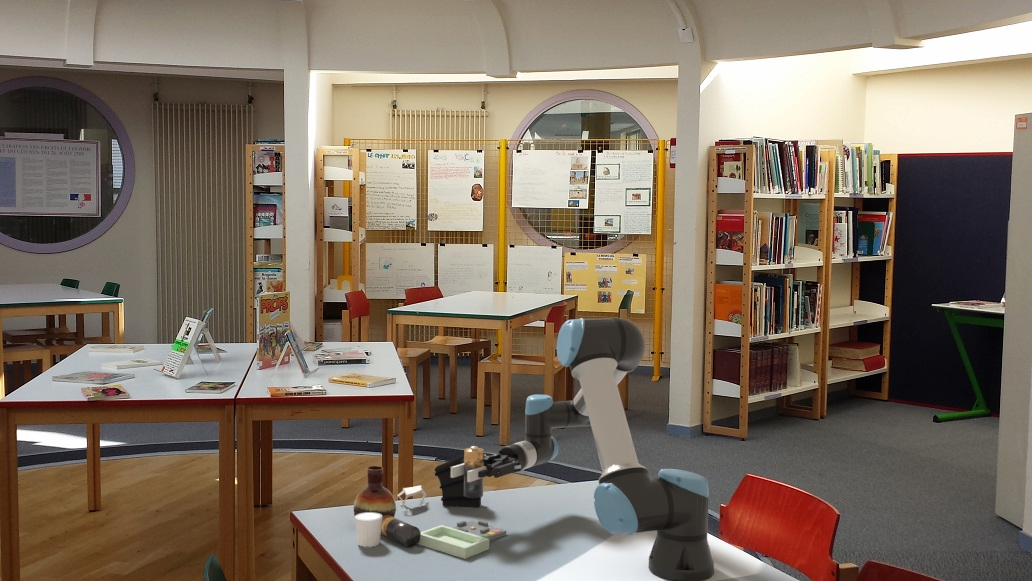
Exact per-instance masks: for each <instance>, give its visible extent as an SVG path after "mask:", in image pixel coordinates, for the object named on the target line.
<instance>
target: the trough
mask: <svg viewBox="0 0 1032 581" xmlns="http://www.w3.org/2000/svg"><path fill="white" fill-rule="evenodd" d="M420 533H421V535H420V540H419V542H418V543H417V544H416V545H419V544H420V546H422V545H423V546H424V547H426V548H428V549H429V548H430V549H433V550H435V551H439V552H442V553H444V554H448V555H451V556H455V557H457V558H461V559H464V560H466V559H468V558H470V557H474V556H476V555H478V554H481V553H482V552H486V551H487V550H490V541H489V539H488V538H485V537H481V536H478V535H475V534H471V533H468V532H464V531H461V530H457V529H454V528H453V527H450V526H446V525H443V524H441V525H438V526H435V527H432V528H430V529H426V530H423V531H420Z"/></svg>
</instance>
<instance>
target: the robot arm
mask: <svg viewBox="0 0 1032 581" xmlns="http://www.w3.org/2000/svg"><path fill="white" fill-rule="evenodd" d="M645 352H646V341H645V336H644V334H643V333H642V330H641V329H640V328H639V327H638V326H637V325H636V324H635V323H634V322H632V321H631V320H629V319H626V318H623V317H608V318H607V317H604V318H600V317H599V318H583V317H580V318H576V319H568V320H566V321H565V322H564V323H563V324H562V325H561V327H560V329H559V332H558V336H557V340H556V354H557V360H558V362H559V364H560V365H561V366H563V367H565V368H568V367H569V370H570V373H571V377H572V378H573V379H575V380H578V381H579V385H580V389H579V390H578V392H577V393H576V395H575V396H574V397H573V399H572V400H561V401H554V400H553V398H552V396H551V395H549V394H532V395H528V397H527V398H526V402H525V411H524V413H525V414H524V417H525V419H524V420H525V424H524V425H525V427H524V429H525V430H524V432H525V433H524V440H522V441H518V442H517V441H516V442H515V443H512V444H507V445H505V446H503V447H501V448H500V449H499V451H498V453H494V454H491V455H487V453H485V452H484V466H483V467H479V468H476V469H473V470H470V471H467V482H472V481H475V480H478V479H481V478H483V479H484V478H487V477H488V478H491V477H494V478H495V479H498V478H501V477H504V476H507V475H510V474H515V473H518V472H521V471H522V472H523V471H525V469H529V468H532V467H535V466H539V465H543V464H547V463H548V462H551V461H553V460H554V459H555V458H556V457H557V455H558V454H559V444H558V441H557V439H556V438H555V437H554V436H553V434H552V432H553V429H563V428H577V427H578V428H579V427H581V428H582V427H584V428H585V427H587V428H588V427H591V431H592V435H593V438H594V442H595V447H596V451H597V456H598V458H599V463H600V466H601V467H600V468H601V471H602V474H600V476H599V478H598V484H599V485H597V486H596V488H595V490H594V493H593V498H594V501H593V505H594V506H593V507H594V510H595V514H596V516H597V519H598V521H599V522H600V525H601V526H602V527H603V528H604V530H606V531H607V532H608V533H609V534H612V535H617V536H619V535H627V536H630V535H631V536H632V535H634V534H641V533H648V532H654V531H655V532H656V537H655V539H654V543H653V544H652V545H653V546H652V548H651V551H650V553H649V556H648V570H649V571H650V572H651V573H652V574H653V575H655V576H657V577H660V578H663V579H667V580H670V581H704V580H707V579H709V578H711V577H712V576H714V573H715V572H714V571H715V562H714V559H713V558H712V553H711V548H710V545H709V540H708V526H709V525H708V524H709V499H710V489H709V481H708V480H707V478H705V477H704V476H703V475H701V474H699V473H695V472H692V471H688V470H683V469H677V468H662V469H660V470H659V471H658V474H657V477H656V478H650V475H649V472H648V469H647V467H646V466H644V465H642V464H640V463H639V460H638V456H637V453H636V449H635V445H634V442H633V438H632V435H631V430H630V428H629V424H628V420H627V416H626V412H625V409H624V405H623V402H622V398H621V395H620V394H621V393H620V390H619V387H618V385H619V384H620V382H622V380H623V379H624V377H625V376H626V375H627V373H630V372H633V371H635V370H636V368H638V366H639V365H640V363H641V362H642V360H643V358H644V355H645ZM461 475H464V459H463V460H462V464H460V465H456V466H453V467H451V478H454V477H458V476H461Z"/></svg>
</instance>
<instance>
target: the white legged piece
mask: <svg viewBox="0 0 1032 581" xmlns="http://www.w3.org/2000/svg"><path fill="white" fill-rule="evenodd" d="M404 494H405V498H404V500H403V498H402V497H401V496H402V495H404ZM418 494H422V497H421V498H420V499H422V500H420V499H419V501H420V504H419V506H420V507H423V505H422V504H423V503H424V500H425V498H426V497H427V494H426V491H424V488H423V485H415V486H410V487H402V491H401V492H399V493H398V494H397V497H398V498H399V500H400V501H402V503H400V506H401V507H403V508H404V510H403V511H402V512H403V513H404V512H405V511H407V510H408V508H407V507H406V505H405V504H406V501H407V500H408V498H409V497H412V496H413V497H414V496H416V495H418Z"/></svg>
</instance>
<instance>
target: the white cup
mask: <svg viewBox="0 0 1032 581" xmlns="http://www.w3.org/2000/svg"><path fill="white" fill-rule="evenodd" d="M354 522H355V535H356V544H358V545H357V546H359V545H361V546H374V547H377V546H379V545H380V544H381V536H382V534H381V526H382V515H381V514H380V513H375V512H365V513H360V514H357V515H356V516H355V515H354ZM379 543H380V544H379ZM378 544H379V545H378ZM376 545H377V546H376ZM361 546H360V547H361Z"/></svg>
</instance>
